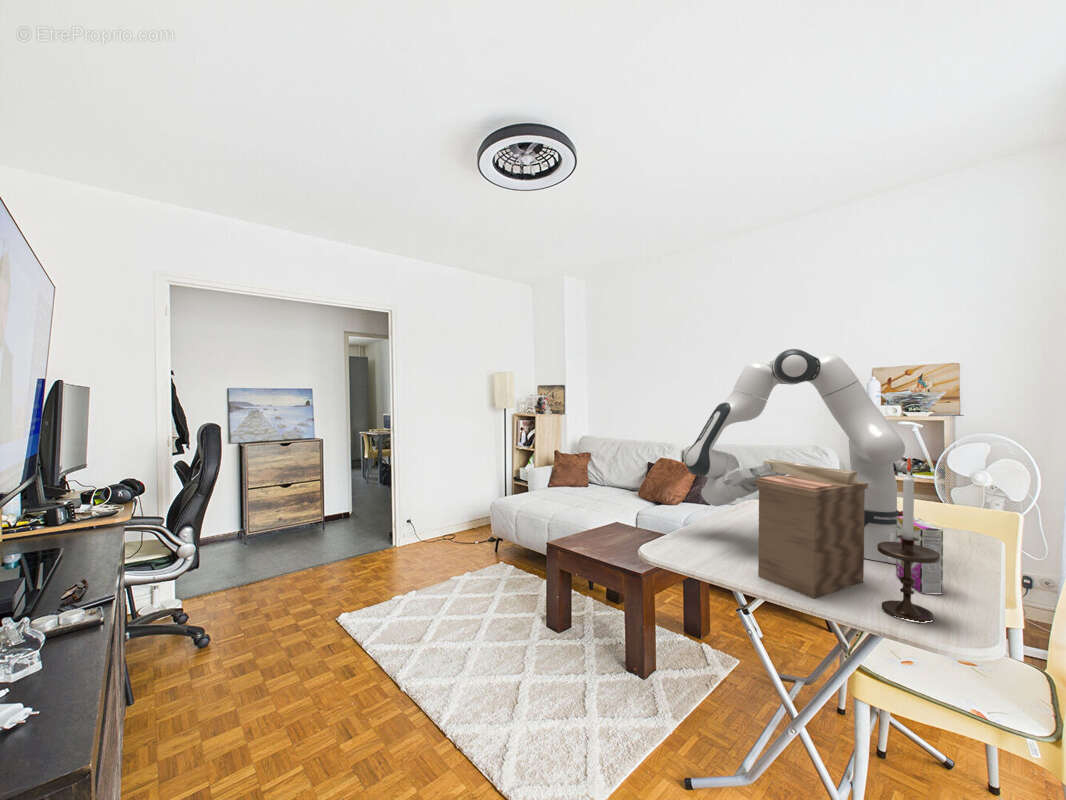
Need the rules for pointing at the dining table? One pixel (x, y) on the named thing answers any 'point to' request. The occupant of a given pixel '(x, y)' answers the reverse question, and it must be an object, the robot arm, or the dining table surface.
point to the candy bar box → (924, 573)
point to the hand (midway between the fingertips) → (778, 464)
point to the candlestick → (908, 558)
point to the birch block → (813, 472)
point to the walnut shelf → (811, 534)
